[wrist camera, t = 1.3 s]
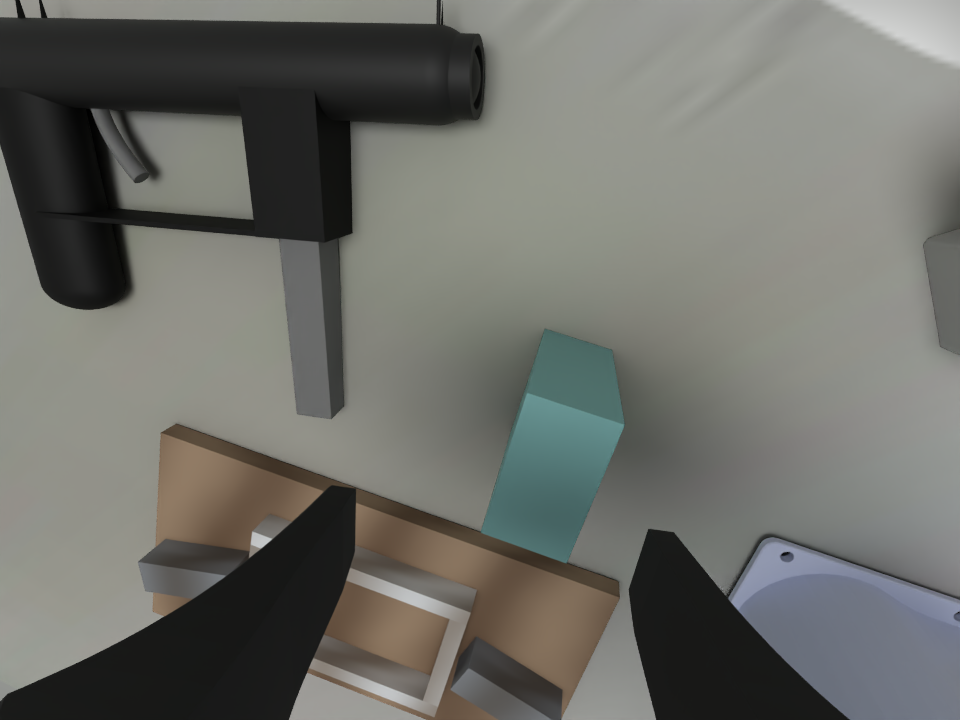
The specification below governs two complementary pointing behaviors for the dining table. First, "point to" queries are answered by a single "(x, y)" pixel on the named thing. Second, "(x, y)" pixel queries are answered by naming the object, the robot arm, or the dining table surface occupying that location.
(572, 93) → the dining table surface
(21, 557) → the dining table surface
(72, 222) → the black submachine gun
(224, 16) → the dining table surface
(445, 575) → the board
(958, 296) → the lighter
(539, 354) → the block
